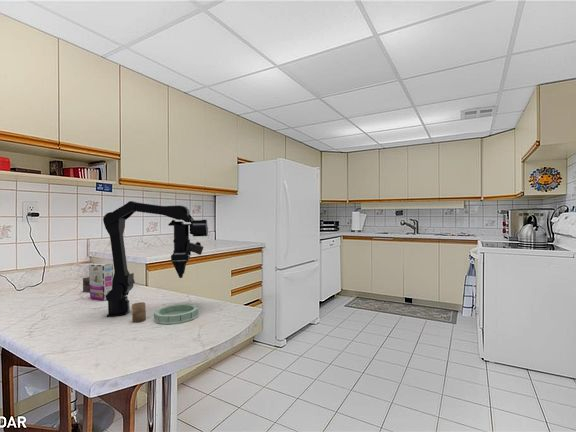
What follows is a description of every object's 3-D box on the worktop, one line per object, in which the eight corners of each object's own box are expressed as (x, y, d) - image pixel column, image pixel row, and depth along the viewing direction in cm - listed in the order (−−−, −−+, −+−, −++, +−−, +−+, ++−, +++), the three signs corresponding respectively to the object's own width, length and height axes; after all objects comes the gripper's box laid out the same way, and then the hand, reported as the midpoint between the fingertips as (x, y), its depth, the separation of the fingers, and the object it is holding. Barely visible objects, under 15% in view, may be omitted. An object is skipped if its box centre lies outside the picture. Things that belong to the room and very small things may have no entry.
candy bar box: (114, 298, 149) (113, 263, 149) (104, 301, 145) (102, 265, 145) (99, 296, 155) (98, 262, 155) (89, 299, 150) (88, 264, 150)
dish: (151, 326, 108) (150, 318, 108) (158, 313, 122) (158, 306, 122) (197, 321, 111) (196, 313, 111) (198, 309, 126) (198, 302, 126)
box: (82, 292, 166) (82, 278, 166) (92, 289, 171) (92, 276, 171) (91, 292, 164) (91, 278, 164) (101, 290, 170) (101, 276, 170)
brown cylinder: (131, 323, 112) (130, 306, 112) (134, 319, 116) (133, 303, 116) (144, 321, 113) (143, 305, 113) (147, 318, 117) (146, 301, 117)
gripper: (201, 237, 120) (202, 278, 120) (202, 235, 139) (203, 271, 138) (170, 238, 118) (171, 280, 118) (175, 235, 136) (176, 272, 136)
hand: (181, 275), depth 127 cm, fingers open, 9 cm apart
